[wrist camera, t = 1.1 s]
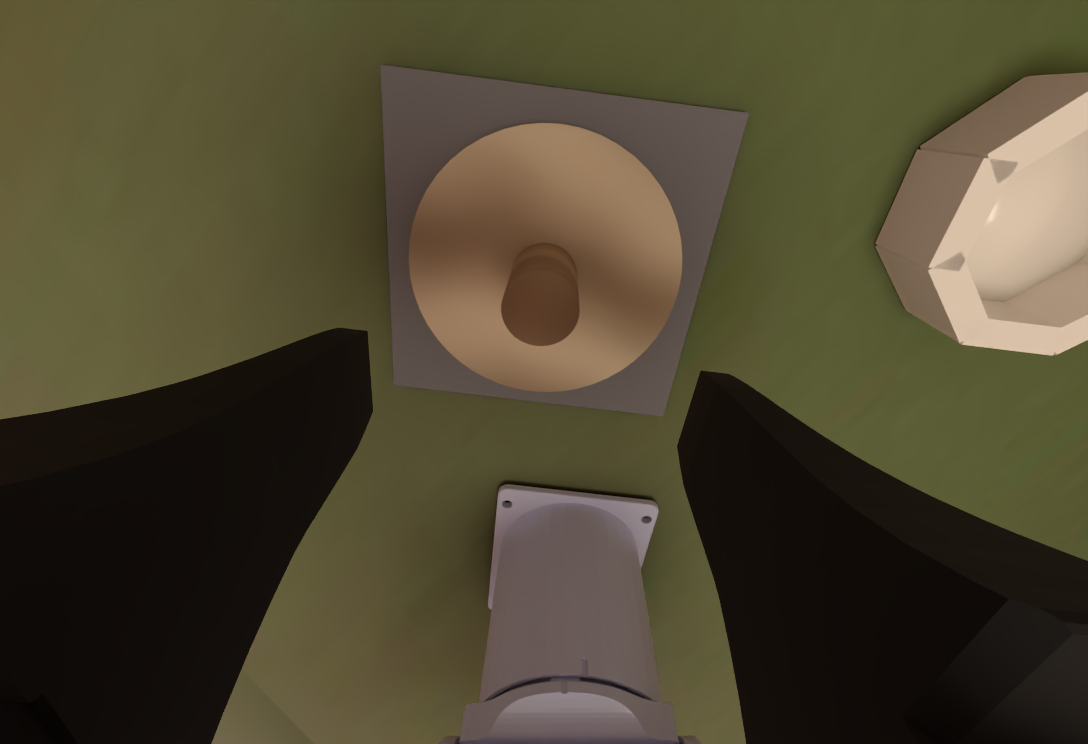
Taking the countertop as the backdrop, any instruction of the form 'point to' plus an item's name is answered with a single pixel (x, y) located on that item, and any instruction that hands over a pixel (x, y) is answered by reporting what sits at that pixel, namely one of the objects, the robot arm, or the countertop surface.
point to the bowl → (999, 222)
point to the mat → (635, 124)
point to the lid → (545, 257)
